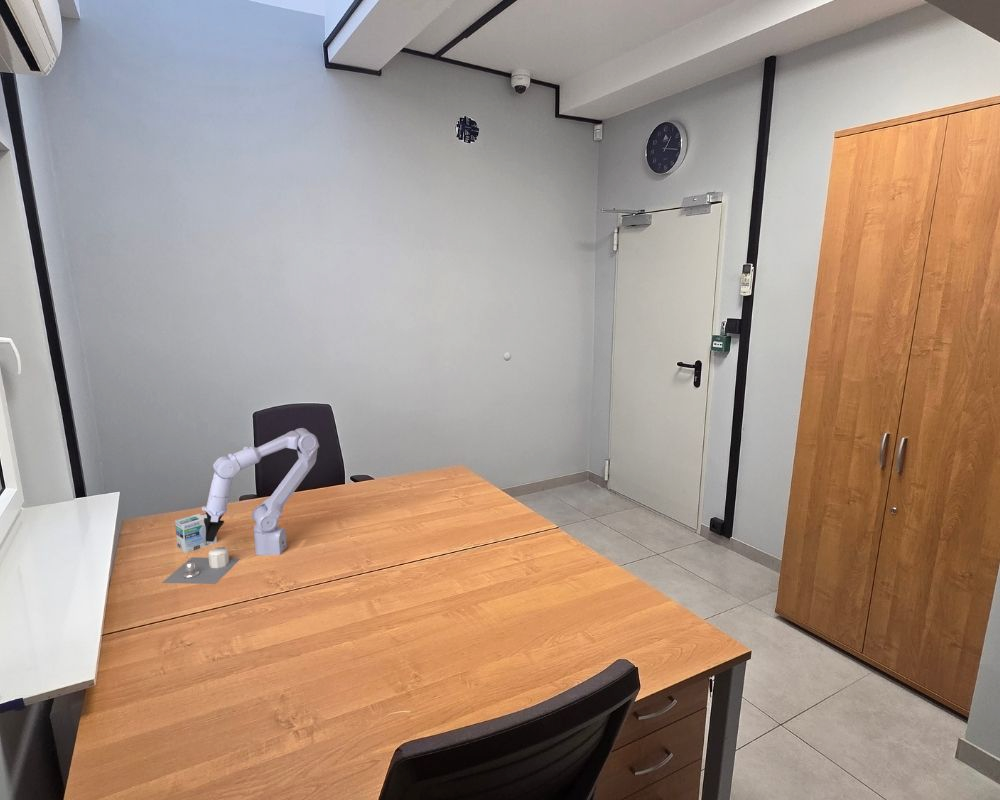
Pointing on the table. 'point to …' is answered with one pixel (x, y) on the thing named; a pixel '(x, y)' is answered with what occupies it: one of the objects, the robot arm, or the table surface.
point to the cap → (218, 557)
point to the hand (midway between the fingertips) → (210, 536)
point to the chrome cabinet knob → (190, 570)
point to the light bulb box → (192, 533)
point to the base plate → (201, 572)
